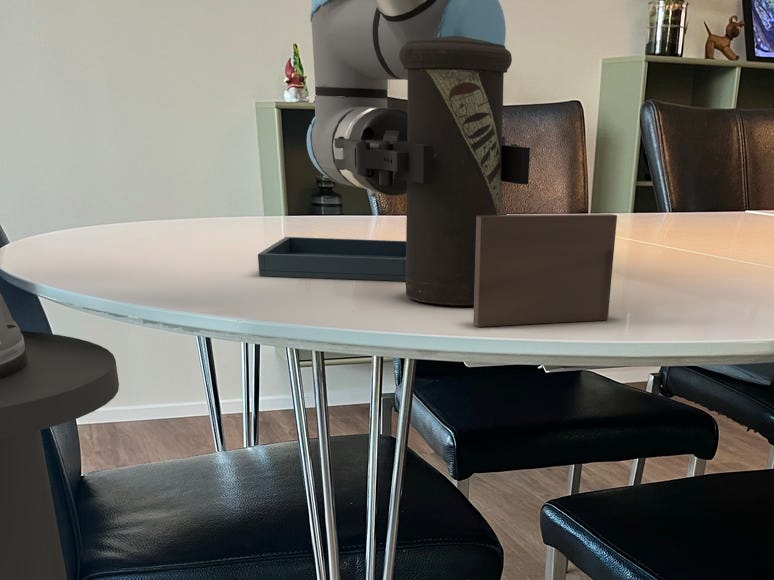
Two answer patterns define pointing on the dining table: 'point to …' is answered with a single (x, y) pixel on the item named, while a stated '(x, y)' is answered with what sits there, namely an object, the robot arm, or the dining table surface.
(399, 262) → the tray
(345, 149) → the robot arm
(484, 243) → the brown wooden block
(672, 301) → the dining table surface
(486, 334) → the dining table surface
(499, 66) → the container
